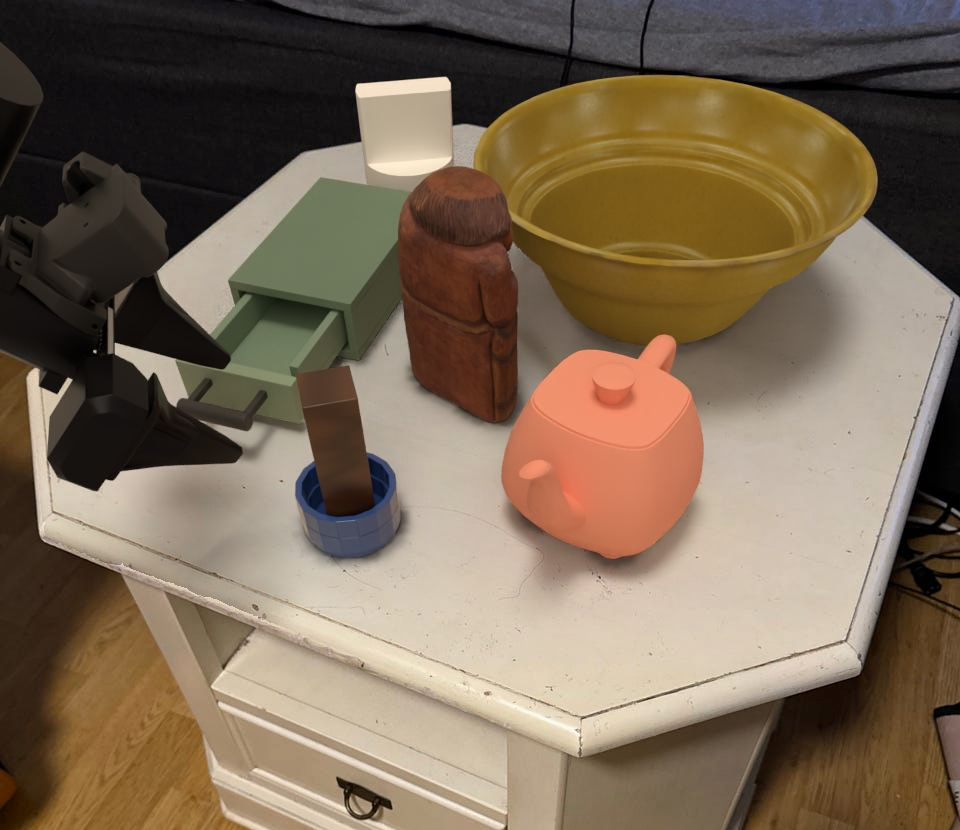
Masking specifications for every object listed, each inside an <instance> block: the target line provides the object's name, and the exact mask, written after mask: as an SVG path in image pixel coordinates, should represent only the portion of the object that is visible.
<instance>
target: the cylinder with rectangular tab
mask: <svg viewBox="0 0 960 830" xmlns="http://www.w3.org/2000/svg"><path fill="white" fill-rule="evenodd" d="M355 98H356V99H355V100H356V108H357V115H358V123H359V131H360V132H359V133H360V140H361V147H362V148H361V149H362V156H363V164H364V173H365V180H366V185H371V186H377V187H384V188H390V189H396V190H402V191H408V192H413V190H414V189H415V188H416V187H417V186H418V185H419V184H420V183H421V182H422V181H423V180H424V179H425V178H426V177H427V176H429V175H430V174H431V173H433V172H435V171H438V170H440V169H444V168H447V167H451V166H455V157H454V132H453V111H452V110H453V109H452V108H453V107H452V105H453V104H452V83H451V81H450V80H449V78H448V77H447V76H438V77H426V78H413V79H403V80H389V81H377V82H365V83H357V84H356V86H355Z"/></svg>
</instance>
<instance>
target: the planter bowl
mask: <svg viewBox="0 0 960 830" xmlns="http://www.w3.org/2000/svg"><path fill="white" fill-rule="evenodd" d="M472 162H473V163H472V165H473V169H476V170H479V171H481V172H483V173H485V174H487V175H488V176H490V177H491V178H492V179H493V180H495V181H496V182H497V183H498V184H499V185H500V187H501V188H502V190H503V193H504V194H505V197H506V201H507V206H508V210H509V213H510V215H511V218H512V234H513V243H514V245H515V246H516V247H517V248H518V249H519V251H520V252H521V253H523V254H524V255H525V256H526V257H527V258H528V259H529V260H531V262H533V263H534V264H536V265H537V266H538V267H540V268H541V270H542V272H543V274H544V276H545V279H546V280H547V283H548V284H549V285H550V287H551V289H552V291H553V292H554V294H555V296H556V298H558V300H559V301H560V303H561V304H562V306H563V308H564V309H565V310H566V311H567V312H568V313H569V314H570V315H571V317H573V318H574V319H575V320H577V321H578V322H579V323H581V324H582V325H584V326H585V327H587V328H589V329H590V330H592V331H595V332H596V333H598V334H600V335H603V336H604V337H607V338H609V339H612V340H614V341H616V342H617V341H618V342H621V343H625V344H629V345H633V346H639V347H640V346H641V347H647V345H648V344H649V343H650V342H651V341H652V340H653V339H654V338H655V337H657V336H659V335H669V336H671V337H673V338H674V339H675V341H676V346H678V345H684V344H688V343H693V342H696V341H700V340H703V339H706V338H710V337H712V336H714V335H716V334H718V333H720V332H722V331H724V330H726V329H727V328H729V327H730V326H731V325H733V324H735V322H736V321H738V320H739V319H740V318H741V317H743V316H744V315H745V314H746V313H747V312H748V311H749V310H751V309H752V307H754V306H755V305H756V304H757V303H758V302H759V301H760V300H761V299H762V298H763V296H765V295H766V293H767V292H768V291H769V290H770V289H772V288H774V287H776V286H779V285H781V284H783V283H785V282H788V281H790V280H791V279H793V278H795V277H796V276H798V275H799V274H801V273H802V272H804V271H805V270H806V269H808V268H809V267H810V266H811V265H812V264H814V263H815V262H816V261H817V260H818V259H819V258H820V257H821V256H822V255H823V254H824V252H826V250H827V249H828V248H829V247H830V246H831V245H832V244H833V243H834V241H835V240H836V239H837V237H838V236H840V235H842V234H844V232H846V231H848V230H849V229H850V228H852V227H854V226H855V224H856V223H858V221H860V219H861V218H862V217H864V215H865V214H866V213H867V211H868V210H869V209H870V207H871V206H872V204H873V201H874V199H875V197H876V194H877V190H878V185H879V184H878V172H877V167H876V164H875V161H874V159H873V157H872V155H871V153H870V152H869V150H868V149H867V147H866V146H865V144H864V143H863V142H862V141H861V140H860V139H859V138H858V137H857V136H856V135H855V134H854V133H853V132H852V131H851V130H849V129H848V128H847V127H846V126H845V125H843V124H842V123H840V122H839V121H837V120H836V119H835V118H833V117H831V116H829V115H828V114H827V113H824V112H823V111H821V110H819V109H817V108H816V107H813V106H811V105H809V104H806V103H805V102H802V101H800V100H797V99H794V98H792V97H789V96H787V95H784V94H781V93H778V92H775V91H773V90H768V89H765V88H762V87H761V88H760V87H757V86H753V85H750V84H744V83H739V82H734V81H729V80H723V79H717V78H710V77H701V76H690V75H676V74H675V75H673V74H671V75H670V74H650V75H649V74H648V75H643V74H642V75H641V74H640V75H625V76H616V77H607V78H599V79H593V80H592V79H591V80H586V81H582V82H577V83H573V84H569V85H564V86H561V87H558V88H555V89H551V90H549V91H546V92H543V93H540V94H538V95H535V96H533V97H530V98H529V99H527V100H524V101H523V102H520V103H519V104H517V105H515V106H513V107H511V108H510V109H508V110H507V111H505V112H504V113H503V114H500V116H499V117H497V118H496V119H495V120H493V122H492V123H490V125H489V126H488V127H487V128H486V129H485V131H483V133H482V135H481V136H480V138H479V140H478V141H477V144H476V147H475V149H474V153H473V161H472Z"/></svg>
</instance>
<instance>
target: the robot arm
mask: <svg viewBox="0 0 960 830" xmlns="http://www.w3.org/2000/svg"><path fill="white" fill-rule="evenodd" d="M43 101H44V93H43V90H42V86H41V84H40V83H39V81H38V80H37V78H36V76H35V75H34V74H33V72H31V70H30V69H29V68H28V67H27V66H26V64H25V63H23V61H21V60H20V58H19V57H17V55H16V54H15V53H14V52H13V51H11V49H9V48H8V47H6V45H4V44H3V43H2V42H1V41H0V188H1V187H2V185H3V182H5V181H4V180H5V178H6V177H7V174H8V172H9V171H10V168H11V166H12V164H13V162H14V160H15V159H16V156H17V154H18V152H19V150H20V148H21V145H22V144H23V142H24V139H25V138H26V136H27V133H28V131H29V129H30V127H31V125H32V123H33V121H34V119H35V117H36V116H37V113H38V111H39V109H40V107H41V105H42V102H43ZM61 179H62V180H61V182H62V187H63V188H64V193H65V194H66V197H67V200H68V202H69V204H68V205H67V204H66V203H65V202H62V203H60V205H58V209H57V214H56V216H54V218H52V220H50V221H48V223H46V224H45V225H43V227H42V226H40V225H38V224H35V223H33V222H31V221H29V220H28V219H26V218H24V217H22V216H20V215H15V216H14V217H12V216H10V215H8V214H6V215H5V217H4V219H3V221H2V222H1V225H0V353H2V354H3V355H4V354H5V355H6V356H9V357H11V358H13V359H16V360H17V361H20V362H21V363H24V364H26V365H28V366H31V367H33V368H35V369H38V370H39V376H38V377H39V378H38V387H39V388H41V389H43V390H46V391H48V392H50V393H52V394H55V395H59V392H61V390H62V388H63V387H64V385H65V384H66V382H67V380H68V379H69V380H71V381H70V383H69V384H68V386H67V388H66V390H65V391H64V393H63V394H62V396H61V398H60V399H59V401H58V402H57V404H56V406H55V407H54V409H53V411H52V412H51V414H50V415H49V417H48V418H49V419H48V434H47V435H48V436H47V450H46V461H47V462H48V464H49V465H50V467H51V469H52V471H53V472H54V474H55V476H56V478H57V479H60V480H62V481H65V482H68V483H70V484H73V485H75V486H78V487H81V488H84V489H87V490H89V491H91V492H98V491H99V490H100V489H101V488H102V486H103V484H104V483H105V481H110V482H113V481H116V480H117V477H118V476H119V474H120V473H121V472H128V471H135V470H136V471H137V470H145V469H151V468H152V469H153V468H160V467H162V468H163V467H176V466H177V467H179V466H201V465H202V466H203V465H226V464H227V465H231V464H235V463H237V462H238V461H239V460H240V459H241V457H242V456H243V455H244V448H243V447H242V446H241V444H238V443H237V442H236V441H234V440H232V439H231V438H229V437H228V436H227V435H225V434H223V433H222V432H220V431H218V430H216V429H215V428H213V427H211V426H209V425H208V424H206V423H205V422H204V421H200V420H197V419H196V418H194V417H192V416H191V415H189V414H187V413H185V412H184V411H182V410H180V409H178V408H177V407H176V406H175V405H173V404H172V403H171V402H169V400H168V398H167V395H166V393H165V390H164V388H163V386H162V383H161V381H160V378H159V376H158V374H157V373H156V372H154V371H153V372H152V373H151V374H150V376H149V378H147V377H146V376H145V375H144V374H143V373H142V372H141V370H140V369H139V368H138V367H137V366H136V365H135V364H134V363H133V362H131V361H130V360H127V359H125V358H123V357H121V356H119V355H117V354H116V344H118V345H121V346H125V347H128V348H133V349H135V350H136V349H137V350H141V351H144V352H148V353H151V354H155V355H159V356H162V357H163V356H164V357H165V358H171V359H175V360H176V359H177V360H181V361H185V362H189V363H192V364H196V365H200V366H205V367H210V368H215V369H220V370H223V369H225V368H226V367H227V365H228V364H229V363H230V361H231V356H230V354H229V353H228V352H227V351H226V350H225V349H224V348H223V347H222V346H221V345H220V344H219V343H218V342H217V341H216V340H215V339H214V338H213V337H212V336H211V335H210V333H208V331H207V330H206V329H205V328H203V327H202V326H201V324H199V322H197V321H196V320H195V319H194V318H193V317H192V316H191V315H190V314H189V313H188V312H187V311H186V310H185V309H184V308H183V307H182V306H181V305H180V304H179V303H178V302H177V301H176V300H175V299H174V298H173V297H172V296H171V295H170V294H169V292H168V291H167V290H166V289H165V288H164V286H163V285H162V282H161V279H160V276H159V270H161V269H162V267H163V266H164V265H165V264H166V262H167V261H168V258H169V254H170V251H169V246H168V245H167V243H166V230H167V229H168V224H167V221H166V220H165V219H164V218H163V216H161V214H160V213H159V212H158V211H157V210H156V209H155V208H154V207H153V205H152V204H151V203H150V202H149V201H148V200H147V198H146V197H145V196H144V195H143V194H142V185H141V184H142V183H141V180H140V178H139V176H138V175H136V174H135V173H133V172H126V171H124V170H123V169H122V167H120V165H119V164H118V163H115V164H114V165H112V164H109V163H107V162H105V161H104V160H101V159H99V158H97V157H95V156H94V155H91V154H89V153H87V152H85V151H80V153H78V154H77V155H76V156H74V157H73V158H72V159H70V160H69V161H68V162H66V163H65V164H64V165H63V167H62V178H61ZM94 351H95V352H94Z"/></svg>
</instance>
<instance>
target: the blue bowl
mask: <svg viewBox="0 0 960 830" xmlns="http://www.w3.org/2000/svg"><path fill="white" fill-rule="evenodd" d="M367 458H368V464H369V470H370V476H371V482H372V488H373V495H374V501H375V507H374V508H372V509H371V510H368V511H366V512H363V513H361V514H358V515H356V516H346V517H334V516H329V515H327V514H326V509H325V505H324V501H323V496H322V492H321V488H320V483H319V479H318V475H317V470H316V466H315V462H314V460H313V461H311V462H310V463H309V464H308V465H307V466H305V467H304V468H303V469H302V471H301V472H300V474H299V476H298V477H297V479H296V481H295V486H294V497H295V501H296V505H297V509H298V512H299V516H300V520H301V523H302V528H303V530H304V532H305V533H306V536H307V537H308V539H309V540H310V542H311V543H312V544H313V545H314V546H315V547H316V548H317V549H318V550H320V551H321V552H323V553H324V554H328V555H330V556H333V557H337V558H347V559H349V558H351V559H352V558H360V557H364V556H368V555H371V554H373V553H377V552H378V551H379V550H381V549H383V548H384V547H385V546H386V545H388V544H389V543H390V542H391V541H392V539H394V537H395V535H396V533H397V531H398V528H399V525H400V522H401V521H402V520H401V506H400V498H399V492H398V490H399V489H398V482H397V475H396V472H395V471H394V470H393V468H392V467H391V465H390V464H389V462H387V460H385V459H384V458H382V457H379V456H378V455H376V454H374V453H372V452H367Z"/></svg>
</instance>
